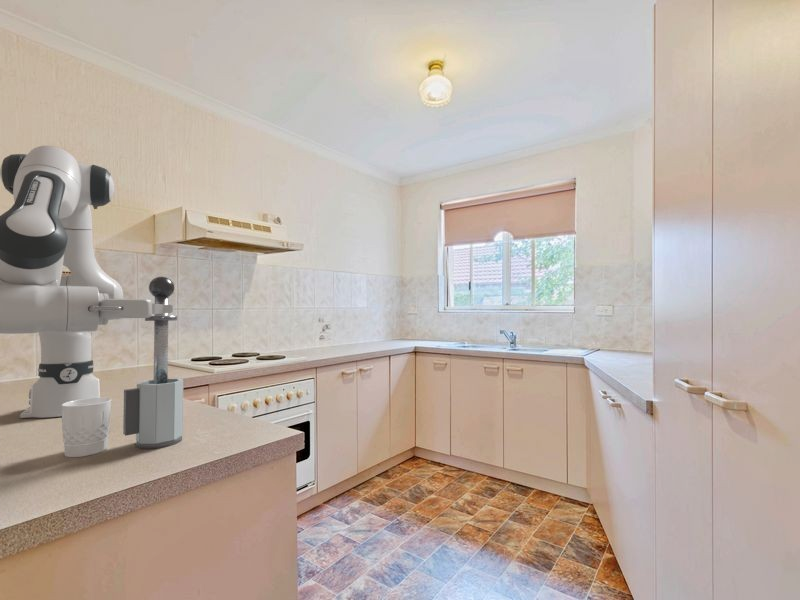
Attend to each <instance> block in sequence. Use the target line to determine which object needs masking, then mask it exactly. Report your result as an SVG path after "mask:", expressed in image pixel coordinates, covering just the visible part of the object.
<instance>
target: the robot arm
mask: <svg viewBox="0 0 800 600" xmlns="http://www.w3.org/2000/svg"><path fill="white" fill-rule="evenodd" d="M0 180H1V182H2V184H3V186H4V189H6V190H7V192H9V193H10V195H13V201H14V204H13V205H12V206H11V207H10V208H9V209H8V210H7V211H5V212H4V213H2V214H0V334H1V335H2V334H3V335H4V334H5V335H7V334H10V335H11V334H13V335H17V334H23V335H24V334H37V333H38V335H39V341H40V360H41V361H40V363H39V364H38V368H37V370H38V372H37V373H38V377H39V378H38V380H37V381H35V382H34V383H33V384H32V385H31V388H30V389H29V391H28V399H29V401H28V405H29V406H28V407H27V408H26V409H25V410H23V411H22V412H21V413H20V415H19V418H20V419H23V418H24V419H25V418H26V419H27V418H41V419H42V418H56V417H62V406H61V405H62V404H63V403H66V402H70V401H74V400H80V399H88V398H101V396H100V395H101V393H100V391H101V389H100V386H101V385H100V379H99V378H98V377H96V376H95V375H94V374H93V372H94V368H95V365H94V360H92V348H93V346H92V345H93V336H92V335H91V332H96V331H98V328H99V326H101V325H102V326H106V325H108V323H109V321H112V320H121V319H145V318H149V317H151V316H153V315H154V314H160V313H168V314H171V313H173V310H174V309H173V308H174V307H173V305H172V304H169V305H163V304H155V303H153V302H152V300H151V299H147V298H124V289H123V288H122V286H121V284H120V282H118V281H117V280H116V279H114V278H112V277H111V276H110V275H108V273H106V272H105V270H103V269H102V268H101V265H100V264H99V263H98V261H97V258H96V256H95V250H94V239H93V237H94V236H93V217H92V215H93V214H92V210H91V206H92V207H93V210H97V209H98V207H104V206H106V205H108V204H109V203H110V202H111V200H112V198H113V196H114V194H115V191H116V189H115V188H116V186H115V182H114V179H113V177H112V175H111V172H109V170H108V169H107V168H105V167H102V166H99V165H95V164H92V165H91V164H87V163H84V162H79V161H77V159H76V158H75V157H74V156H73V154H71V153H69V152H68V151H67V150H64V149H63V148H60V147H58V146H52V145H39V146H37V147H34V148H32V149H31V150H30V151H29V152H28V153H27V154H26V153H14V154H10V155H8V156H6V157H4V158H3V160H2V162H1V165H0ZM64 267H65V268H67V269H68V270H69V271H70V275H69V274H68V275H63V274H62V273H63V268H64Z"/></svg>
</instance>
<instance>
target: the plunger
mask: <svg viewBox="0 0 800 600" xmlns="http://www.w3.org/2000/svg"><path fill="white" fill-rule="evenodd" d="M148 291H149V293H150V294H151V296H152V297H154V304H163V305H170V304H169V303H170V301H169V299H170V298H169V297H171V296H172V295H173V294H174V293H175V292H174V291H175V284H174V282H173V280H171V279H170V278H168V277H167V276H156V277H155V278H153V279H151V280H150V282H149V284H148ZM144 321H145V322H153V321H154V323H153V325H154V327H153V329H154V330H153V331H154V332H153V334H154V335H153V380H154V384H164V383H168V377H169V375H168V372H169V369H168V368H169V367H168V365H169V321H170V322H173V321H178V315H169V313H160V314H153V315H151V317H149V318H144Z"/></svg>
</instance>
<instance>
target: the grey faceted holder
mask: <svg viewBox="0 0 800 600" xmlns="http://www.w3.org/2000/svg"><path fill="white" fill-rule="evenodd" d="M122 426H123V428H122V429H123V432H122V435H124V437H125V436H130V435H131V436H132V435H135V441H136V443H135V444H136V445H135V446H137V448H139V449H141V448H142V449H141V450H151V449H160V448H166V447H169V446H173V445H176V444H178V443H180V442H181V441H183V434H184V379H182V378H179V377H178V378H174V377H172V378H168V383H164V384H154V379H149V380H146V379H145V380H143V381H139V382H137V383H136V388H128V389H123V424H122Z"/></svg>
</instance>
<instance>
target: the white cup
mask: <svg viewBox="0 0 800 600" xmlns="http://www.w3.org/2000/svg"><path fill="white" fill-rule="evenodd" d="M61 406H62V416H61V424H62V426H61V428H62V437H63V438H62V442H63V446H64V447H63V449H64V451H63V452H64V457H66V458H79V457H80V458H81V457H88V456H92V455H95V454H99V453H101V452H104V451H105V450H107V448H108V438H109V437H108V436H109V433H110V423H111V407H112V398H111V397H100V398H88V399H80V400H74V401H70V402H66V403H63V404H62V405H61Z"/></svg>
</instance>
